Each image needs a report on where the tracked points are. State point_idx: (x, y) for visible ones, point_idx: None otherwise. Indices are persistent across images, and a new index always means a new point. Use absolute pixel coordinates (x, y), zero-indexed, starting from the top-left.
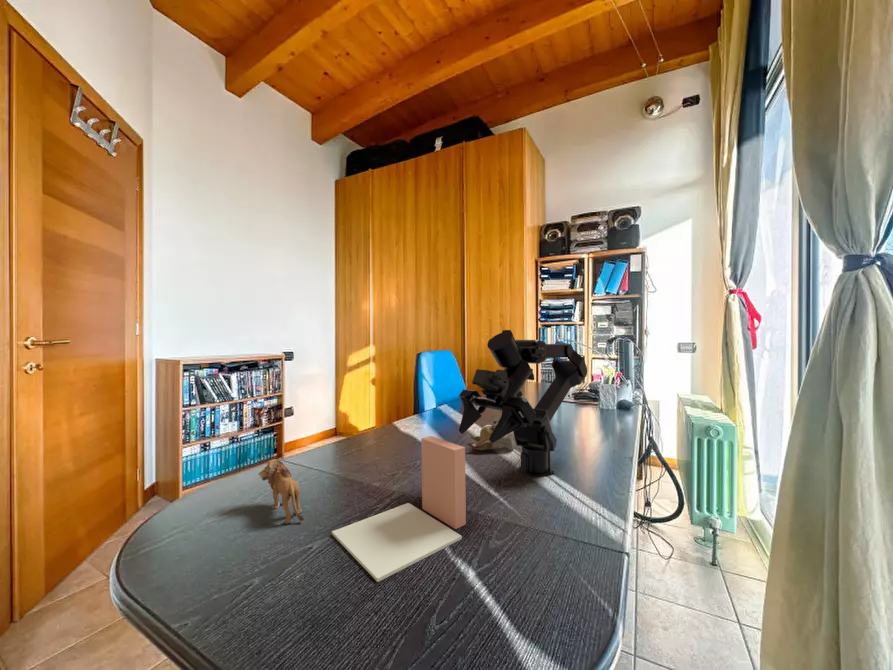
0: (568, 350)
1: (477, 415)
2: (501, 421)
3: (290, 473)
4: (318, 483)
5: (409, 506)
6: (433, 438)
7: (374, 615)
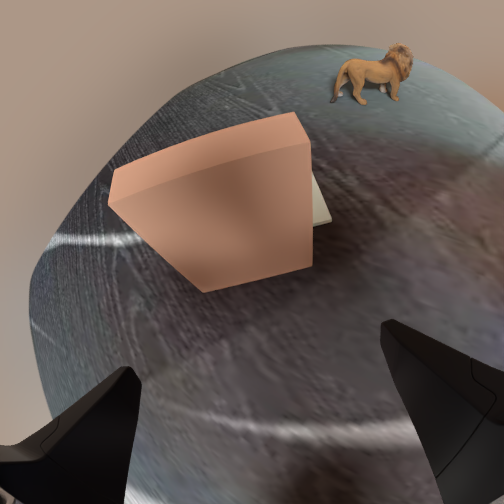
0: None
1: (454, 496)
2: (46, 431)
3: (401, 69)
4: (451, 131)
5: (314, 216)
6: (269, 139)
7: (141, 154)
